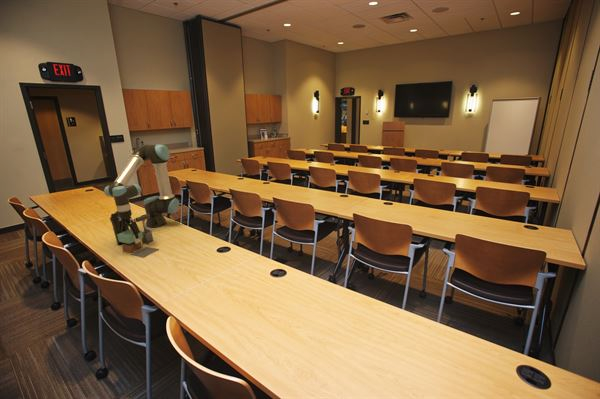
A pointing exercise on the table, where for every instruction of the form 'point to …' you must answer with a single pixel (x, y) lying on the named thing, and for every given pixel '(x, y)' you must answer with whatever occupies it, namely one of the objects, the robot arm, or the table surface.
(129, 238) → the cover
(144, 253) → the mat
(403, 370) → the table surface
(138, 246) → the case
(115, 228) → the water bottle
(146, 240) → the lock block
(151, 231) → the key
